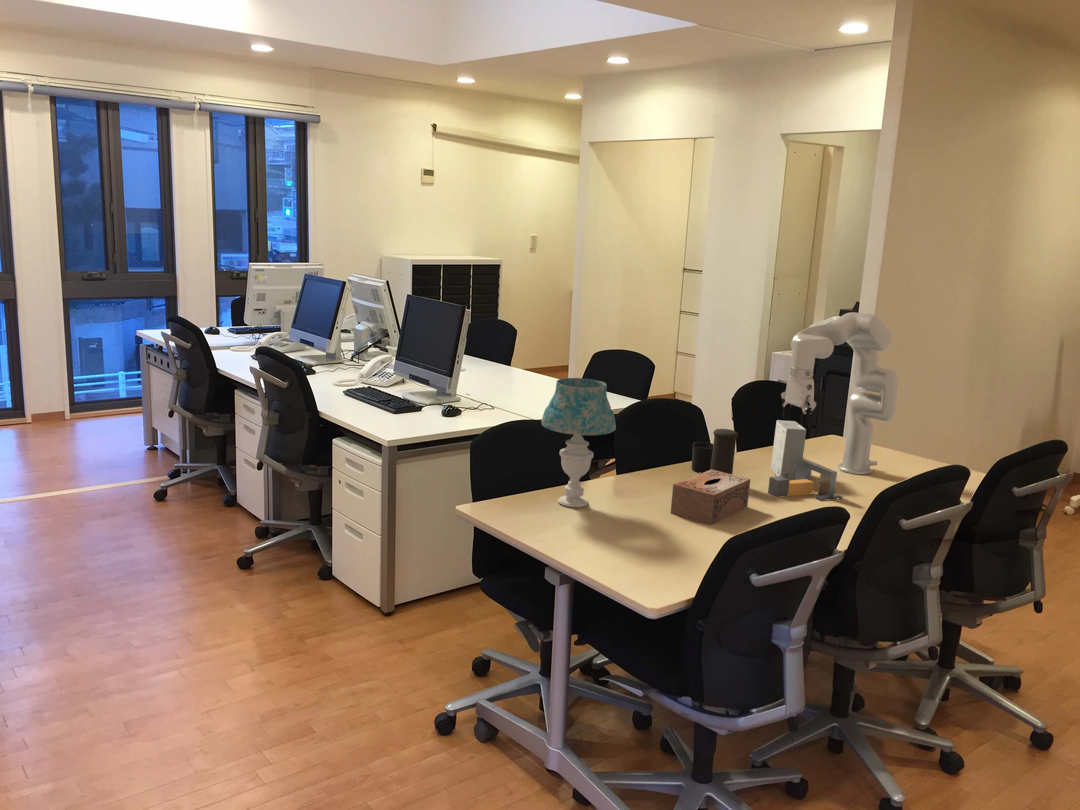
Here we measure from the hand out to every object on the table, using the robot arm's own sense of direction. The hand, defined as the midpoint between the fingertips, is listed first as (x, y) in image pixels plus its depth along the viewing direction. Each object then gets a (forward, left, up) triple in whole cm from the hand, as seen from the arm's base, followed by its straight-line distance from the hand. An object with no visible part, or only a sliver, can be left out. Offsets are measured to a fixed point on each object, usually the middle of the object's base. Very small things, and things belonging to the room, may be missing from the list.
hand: (795, 421), depth 298 cm
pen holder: (+14, -32, -27) cm, 44 cm away
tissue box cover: (+38, +9, -27) cm, 47 cm away
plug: (-2, 0, -26) cm, 26 cm away
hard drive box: (-15, -20, -27) cm, 37 cm away
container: (+17, -16, -26) cm, 35 cm away
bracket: (-12, 0, -26) cm, 29 cm away
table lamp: (+80, -7, -26) cm, 85 cm away
